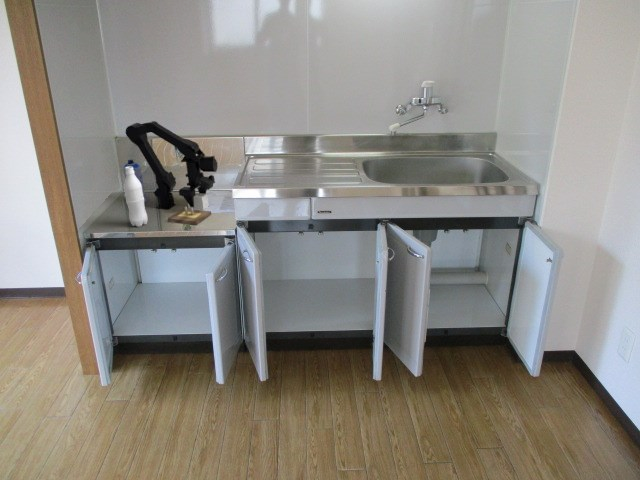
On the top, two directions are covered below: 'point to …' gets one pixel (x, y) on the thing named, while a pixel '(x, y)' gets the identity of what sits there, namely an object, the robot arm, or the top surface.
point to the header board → (189, 216)
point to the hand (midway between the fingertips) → (198, 204)
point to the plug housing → (200, 201)
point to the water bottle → (134, 198)
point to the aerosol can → (136, 174)
